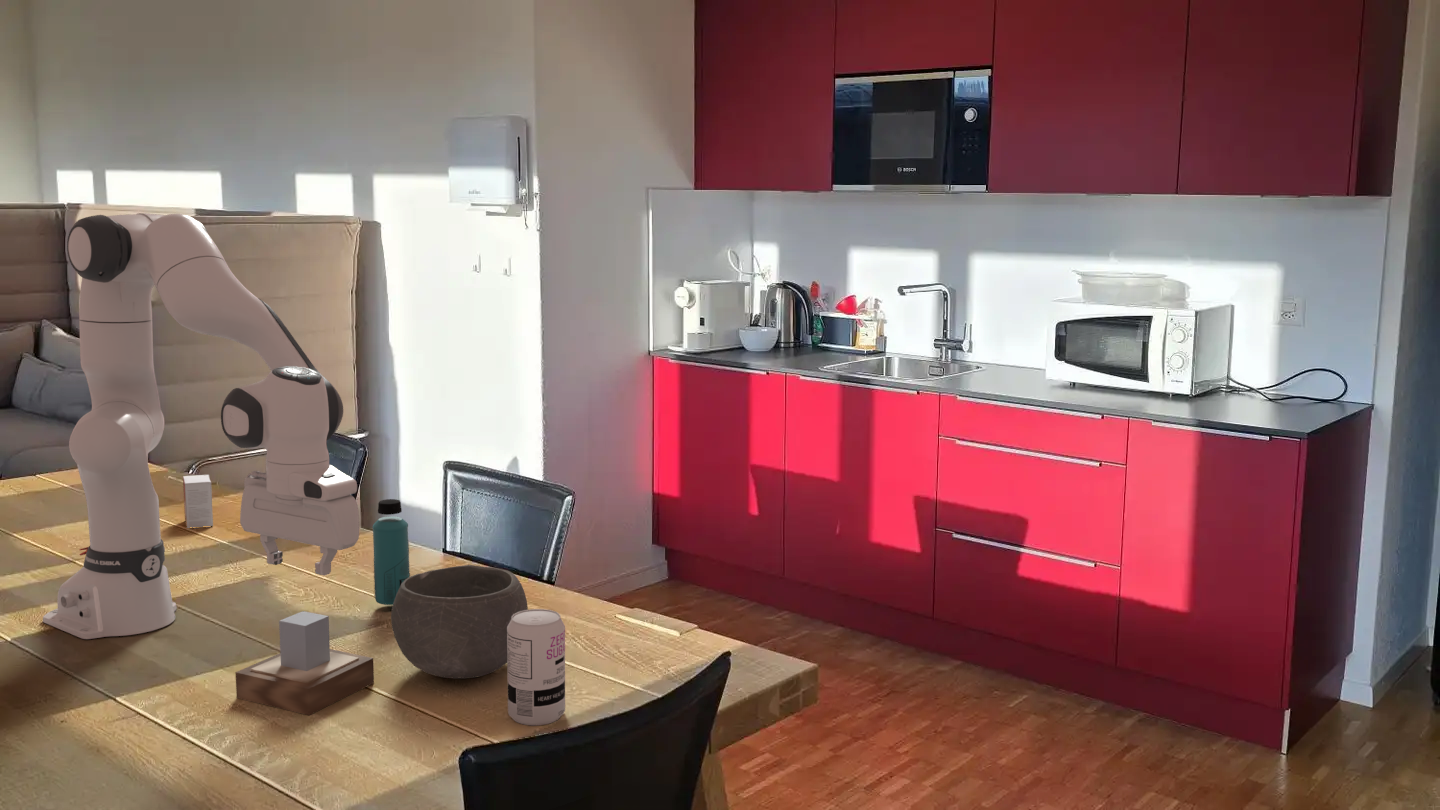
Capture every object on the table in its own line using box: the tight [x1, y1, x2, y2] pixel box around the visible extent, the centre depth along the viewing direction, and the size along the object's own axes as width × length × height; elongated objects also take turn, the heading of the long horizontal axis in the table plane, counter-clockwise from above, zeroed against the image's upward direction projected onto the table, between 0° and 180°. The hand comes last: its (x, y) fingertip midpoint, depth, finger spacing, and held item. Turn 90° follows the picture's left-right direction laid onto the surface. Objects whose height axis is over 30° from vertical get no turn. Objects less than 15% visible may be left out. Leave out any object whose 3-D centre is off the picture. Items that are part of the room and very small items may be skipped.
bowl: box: [390, 564, 529, 679], centre depth 200 cm, size 21×21×15 cm
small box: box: [182, 474, 214, 529], centre depth 285 cm, size 8×6×10 cm
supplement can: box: [506, 608, 566, 726], centre depth 183 cm, size 8×8×15 cm
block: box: [278, 611, 331, 671], centre depth 191 cm, size 5×5×7 cm
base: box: [235, 648, 375, 716], centre depth 192 cm, size 14×14×4 cm
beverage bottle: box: [372, 498, 411, 606], centre depth 230 cm, size 6×7×20 cm
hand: (298, 568), depth 189 cm, fingers open, 8 cm apart
